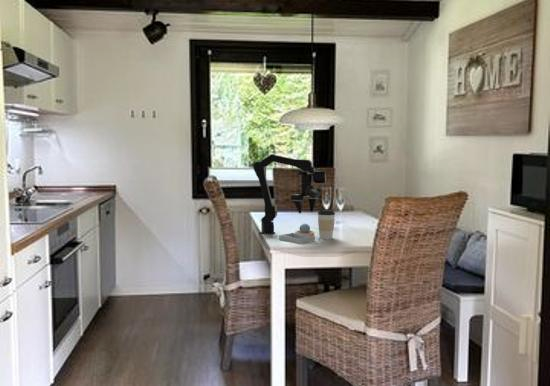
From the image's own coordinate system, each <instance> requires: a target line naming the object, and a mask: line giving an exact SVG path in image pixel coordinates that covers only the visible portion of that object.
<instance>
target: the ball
mask: <svg viewBox="0 0 550 386" xmlns="http://www.w3.org/2000/svg"><path fill="white" fill-rule="evenodd" d="M299 230H300V232H301V233H309V231H311V226H310V225H309V224H307V223H302V224H300V226H299Z"/></svg>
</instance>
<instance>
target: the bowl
mask: <svg viewBox="0 0 550 386" xmlns="http://www.w3.org/2000/svg"><path fill="white" fill-rule="evenodd" d="M294 233H297V234H303V235H309V236H315V231H314V230H310V231H309V233H301V232H300V229H299V230H296V231H295V232H294Z"/></svg>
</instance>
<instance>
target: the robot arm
mask: <svg viewBox="0 0 550 386" xmlns="http://www.w3.org/2000/svg"><path fill="white" fill-rule="evenodd" d="M273 163H277V164H278V163H279V164H282V165H288V166H292V167H295V168H297V169H300V170H299V172H298V173H297V175H298V176H300V184H299V185H298V187H299V188H300V192H299V193H298V194H297V193H294V194H293V193H292V194H291V195H290V199H289V200H290V201H292V202H293V204H294V205H295V207H296V209H297V212H298V214H302V208H303V203H304V199H308V203H309V204H308V205H309V211H310V212H311V213H313V212H314V210H315V206H316V205H317V202H319V201H320V200H321V199H322V195H323V189H321V188H317V189H316V188H315V187H314V185H313V184H312V183H314V184H317V185H319V184H322V185H323V184H325V185H326V184H327V176H326V170H316V169H315V168H314V166H313V162H312V160H310V159H307V158H306V159H302V158H301V159H298V158H292V157H287V156H282V155H276V154H275V153H271V154H269V155H268V156H266V157H264V158H263V159H261V160H260V161H256V162H255V163H253V167H252V169H253V171H254V173H255V175H256V177H257V179H258V181H259V186H260V190H261V191H260V192H261V194H262V198H263V202H264V216H263V217H261V218H260V222H261V230H260V231H259V234H261V235H274V234H276V232H275V224H274V221H275V220H274V219H276V218H277V216H278V213H279V211H278V210H279V209H278V206H277V204H275V205H274V203H273V199H272V195H271V192H270V187H269V184H268V183H269V182H268V179H267V167H268V166H270V165H271V164H273Z"/></svg>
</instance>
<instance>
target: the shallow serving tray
mask: <svg viewBox="0 0 550 386" xmlns="http://www.w3.org/2000/svg"><path fill="white" fill-rule="evenodd" d="M279 239H280V241H285V242H291V243H295V244H296V243H297V244H300V245H301V244H305V243H311V242H315V241H316V236H315V235H314V236H309V235H303V234H297V233H295V232H290V233H284V234H278V240H279Z"/></svg>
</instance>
